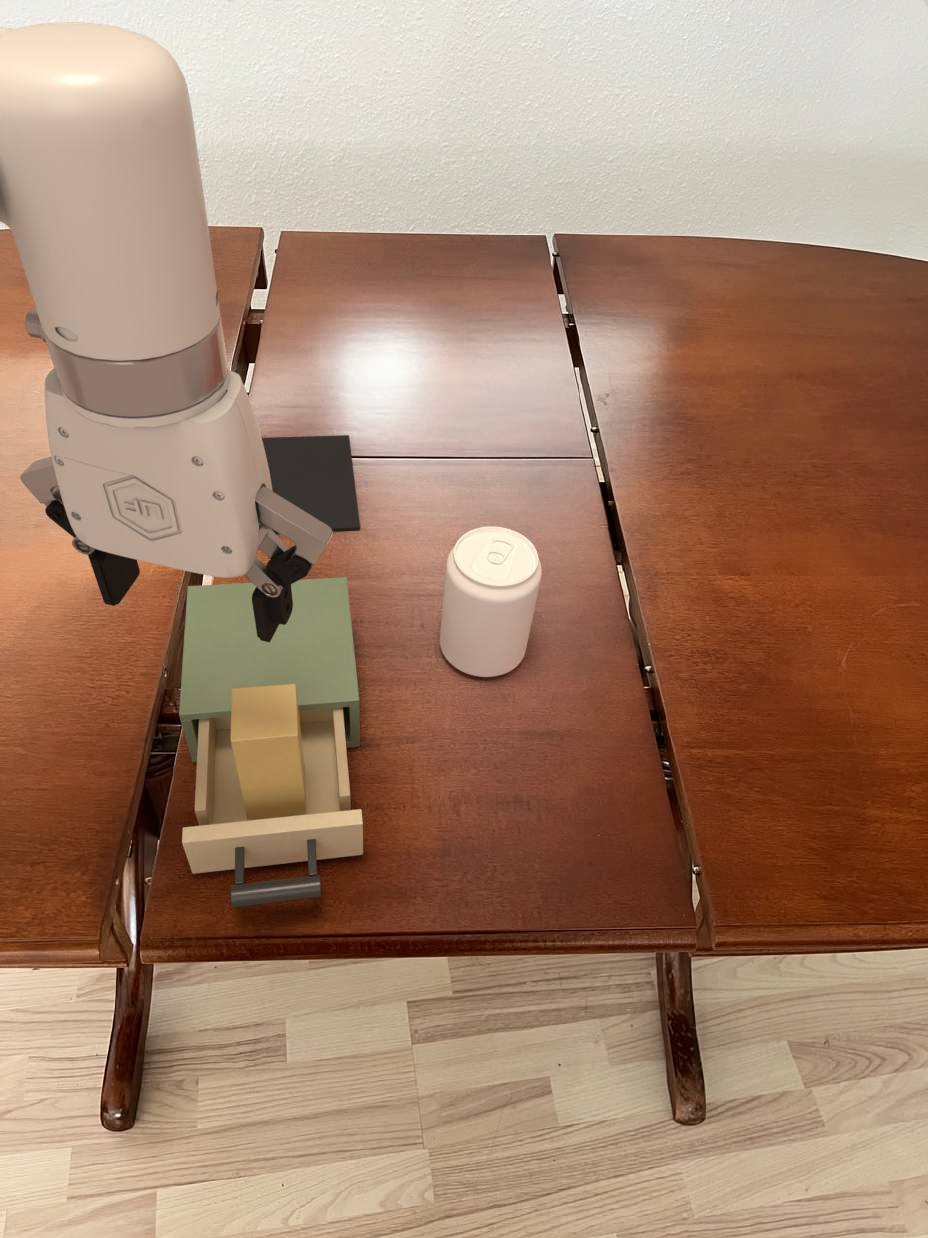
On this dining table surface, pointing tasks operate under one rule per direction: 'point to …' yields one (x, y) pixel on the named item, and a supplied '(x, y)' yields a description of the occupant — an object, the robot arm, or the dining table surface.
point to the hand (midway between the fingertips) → (197, 606)
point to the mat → (315, 477)
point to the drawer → (275, 839)
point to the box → (268, 750)
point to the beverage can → (489, 601)
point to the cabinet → (268, 652)
